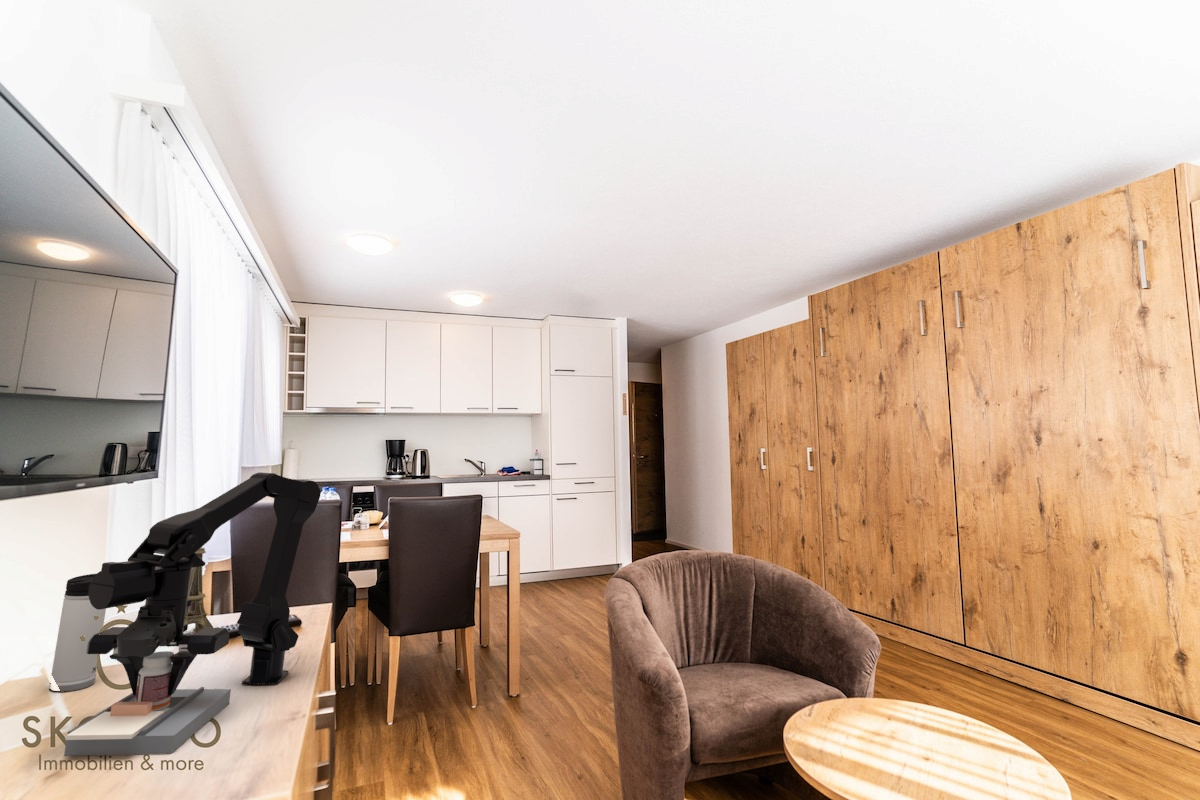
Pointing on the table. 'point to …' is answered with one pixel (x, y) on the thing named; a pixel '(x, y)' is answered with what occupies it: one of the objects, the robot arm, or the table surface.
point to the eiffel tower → (197, 599)
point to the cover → (118, 722)
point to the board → (159, 725)
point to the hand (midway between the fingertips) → (153, 694)
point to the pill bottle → (155, 680)
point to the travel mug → (76, 637)
